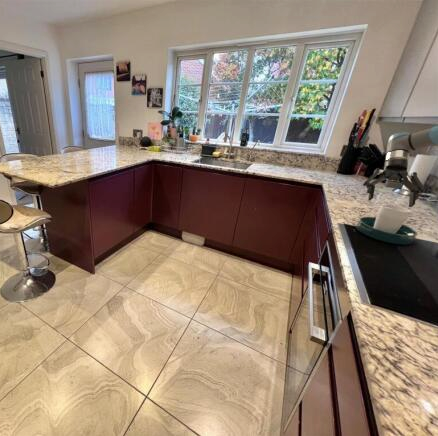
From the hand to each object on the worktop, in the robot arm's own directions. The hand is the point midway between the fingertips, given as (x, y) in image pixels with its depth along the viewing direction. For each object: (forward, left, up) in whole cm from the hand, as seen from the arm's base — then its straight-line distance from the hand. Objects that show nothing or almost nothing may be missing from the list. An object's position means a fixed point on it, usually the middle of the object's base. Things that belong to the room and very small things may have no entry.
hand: (390, 202), depth 102 cm
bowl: (-4, +7, -13) cm, 15 cm away
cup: (-4, +7, -12) cm, 15 cm away
